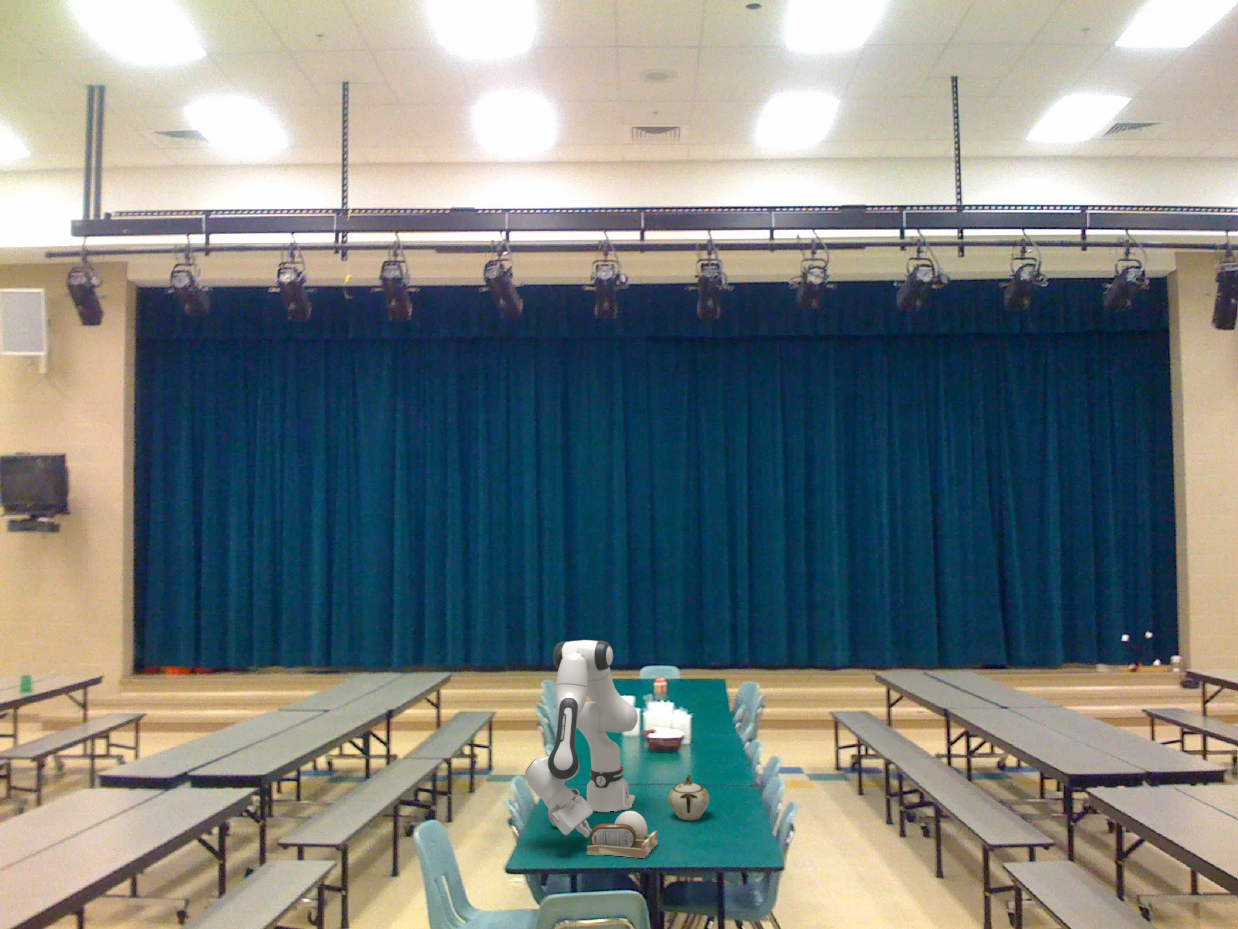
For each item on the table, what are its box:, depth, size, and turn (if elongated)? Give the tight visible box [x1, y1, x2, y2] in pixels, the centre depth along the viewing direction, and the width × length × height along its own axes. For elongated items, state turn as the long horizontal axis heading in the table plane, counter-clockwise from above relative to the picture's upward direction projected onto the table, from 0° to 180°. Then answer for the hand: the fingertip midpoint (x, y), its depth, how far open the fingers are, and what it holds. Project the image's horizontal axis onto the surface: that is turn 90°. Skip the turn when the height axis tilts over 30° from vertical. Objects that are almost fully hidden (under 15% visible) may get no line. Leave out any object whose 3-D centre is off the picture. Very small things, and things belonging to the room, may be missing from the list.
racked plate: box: [614, 810, 648, 840], centre depth 314 cm, size 2×11×11 cm, turn 71°
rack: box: [586, 830, 659, 859], centre depth 310 cm, size 16×19×4 cm
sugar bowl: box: [667, 774, 711, 821], centre depth 343 cm, size 20×15×15 cm
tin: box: [589, 823, 636, 848], centre depth 309 cm, size 15×3×8 cm, turn 89°
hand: (589, 835), depth 312 cm, fingers closed
